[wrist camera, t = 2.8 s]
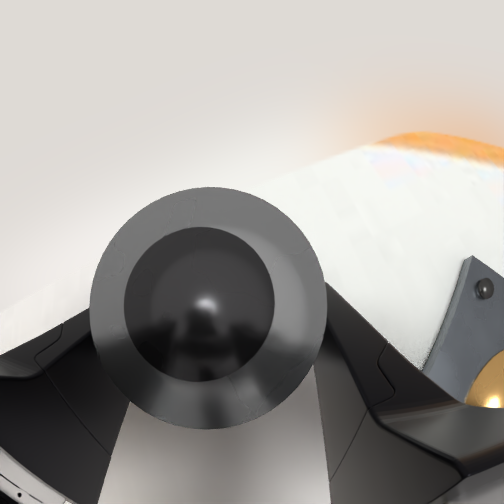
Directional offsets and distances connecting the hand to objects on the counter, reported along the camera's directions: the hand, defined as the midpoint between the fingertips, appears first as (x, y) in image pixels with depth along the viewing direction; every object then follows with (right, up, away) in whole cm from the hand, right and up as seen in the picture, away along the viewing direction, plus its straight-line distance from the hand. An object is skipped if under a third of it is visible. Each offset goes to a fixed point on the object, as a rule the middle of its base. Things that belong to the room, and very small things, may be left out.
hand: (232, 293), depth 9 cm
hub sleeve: (+1, -3, +6) cm, 7 cm away
